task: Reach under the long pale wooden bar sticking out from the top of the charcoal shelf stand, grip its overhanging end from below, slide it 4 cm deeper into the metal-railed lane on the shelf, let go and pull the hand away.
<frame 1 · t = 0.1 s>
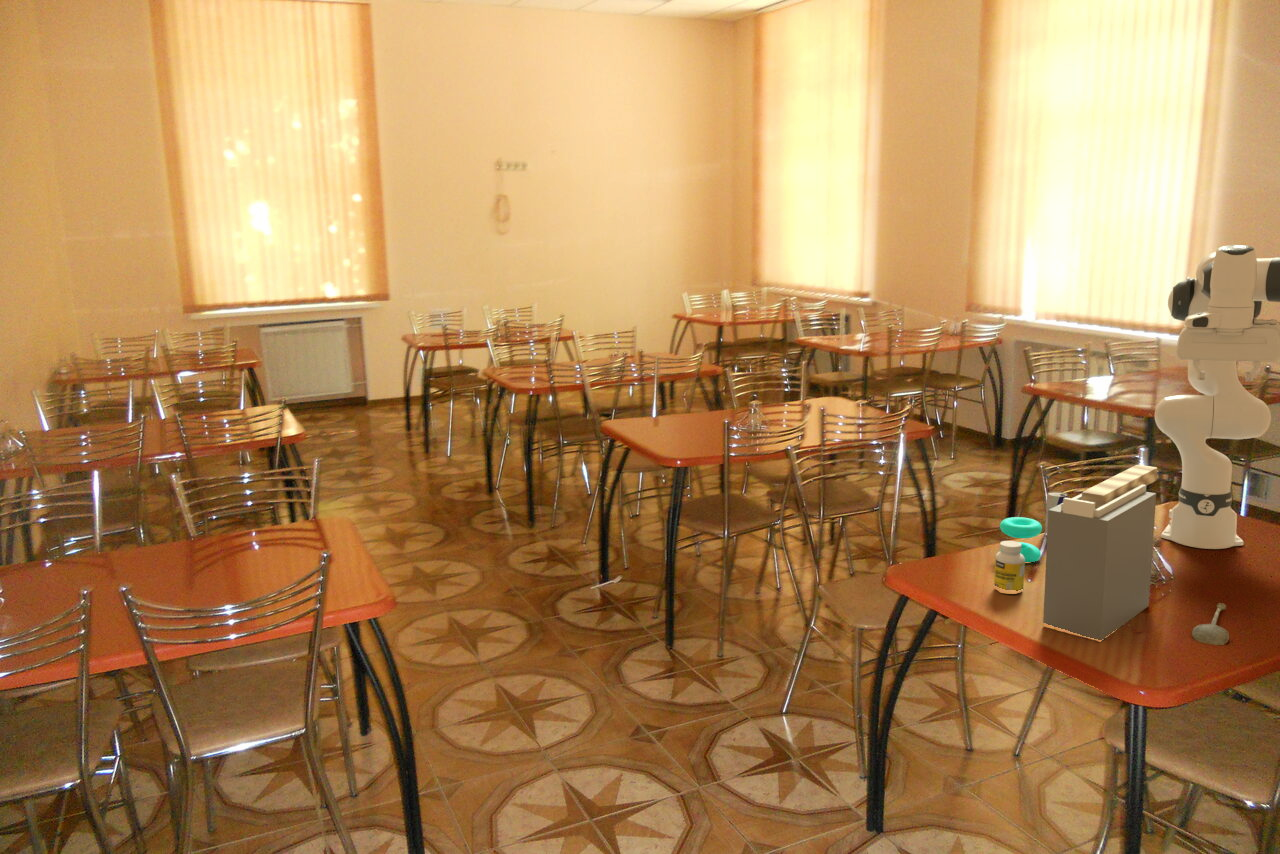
hand: (1224, 380, 220), 48 cm above the table, tool pointing down, fingers open, 8 cm apart
shelf stand: (1096, 616, 212), on the table
energy drink: (1055, 537, 265), on the table
soupspoon: (1215, 628, 205), on the table
pill bottle: (1008, 591, 228), on the table
donuts: (1019, 559, 249), on the table
wooden bar: (1120, 492, 212), point 26 cm above the table, touching shelf stand
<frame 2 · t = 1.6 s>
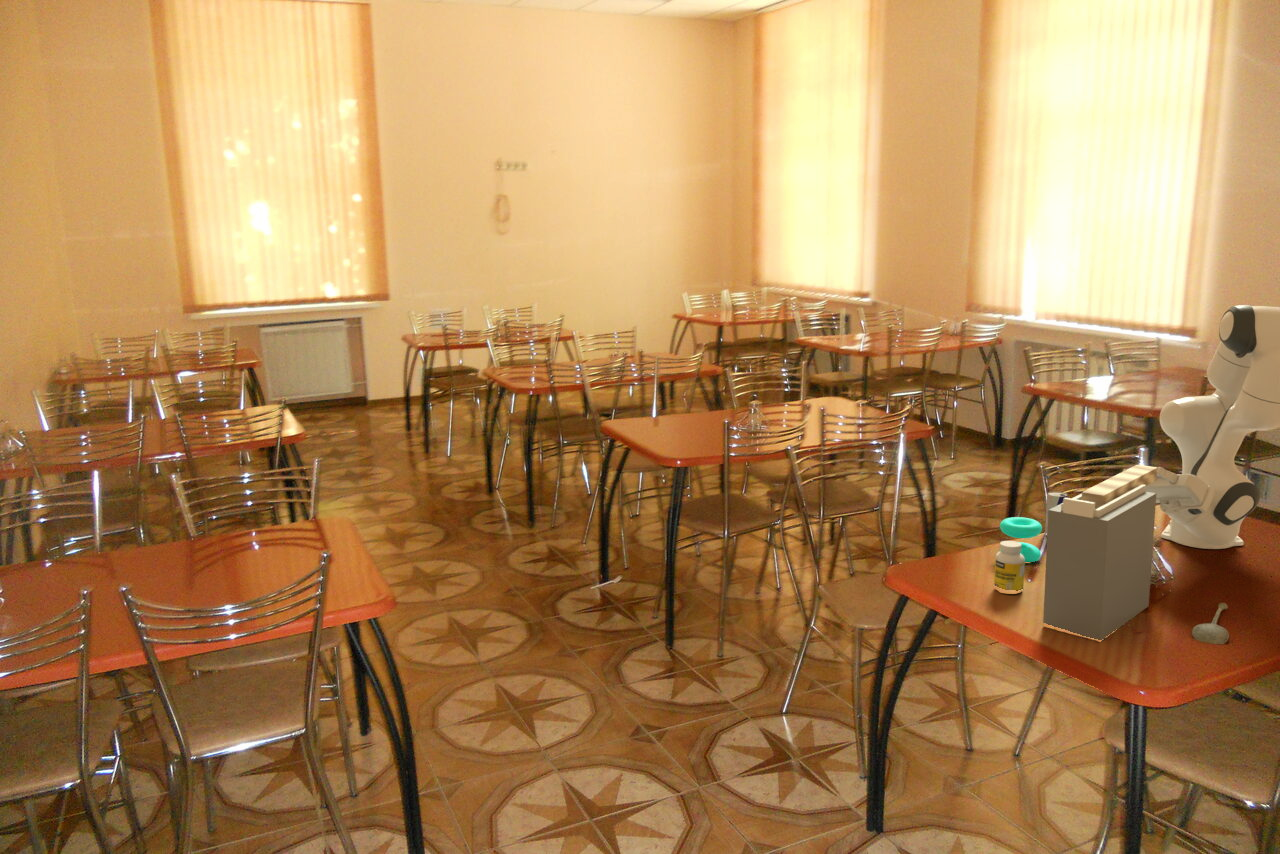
hand: (1140, 470, 231), 26 cm above the table, tool pointing upward, fingers open, 8 cm apart
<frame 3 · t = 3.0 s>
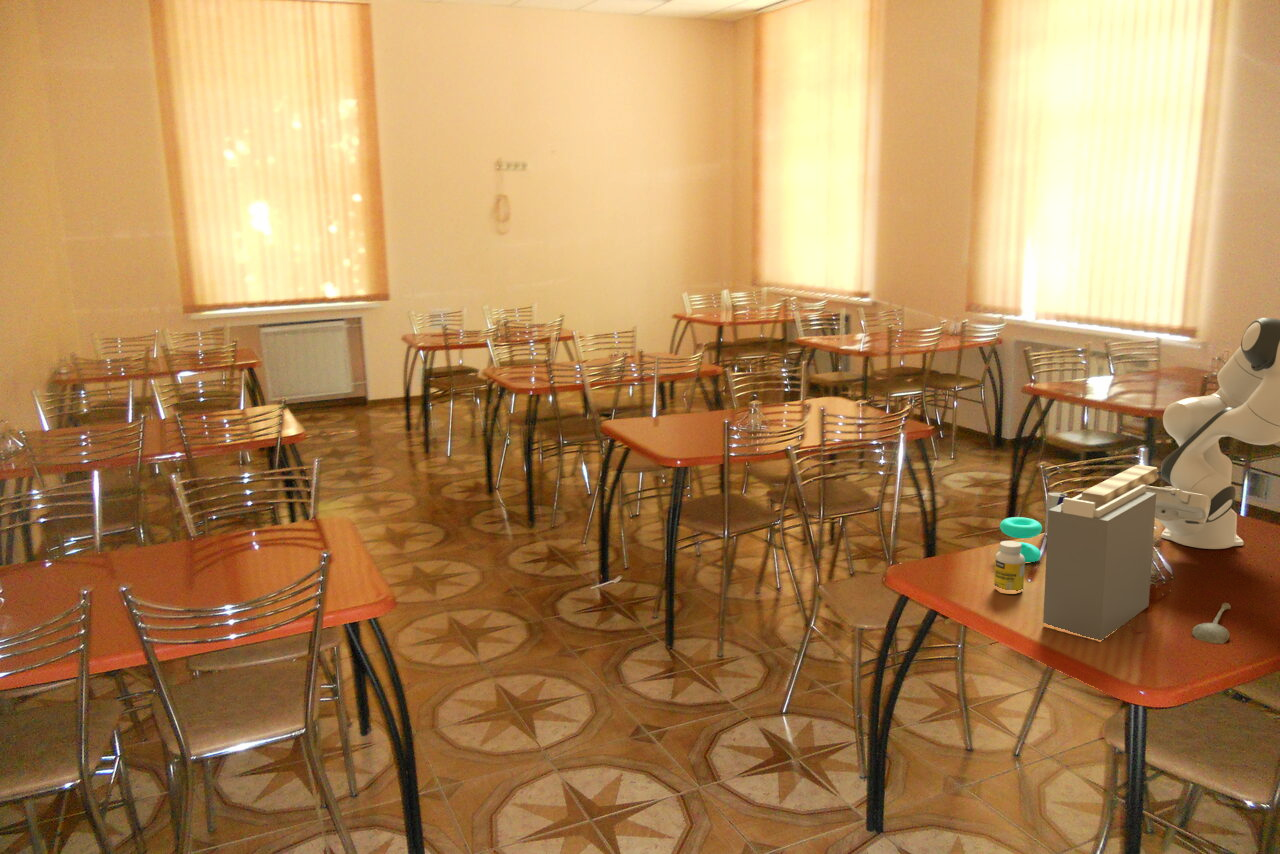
hand: (1153, 488, 227), 23 cm above the table, tool pointing upward, fingers open, 8 cm apart
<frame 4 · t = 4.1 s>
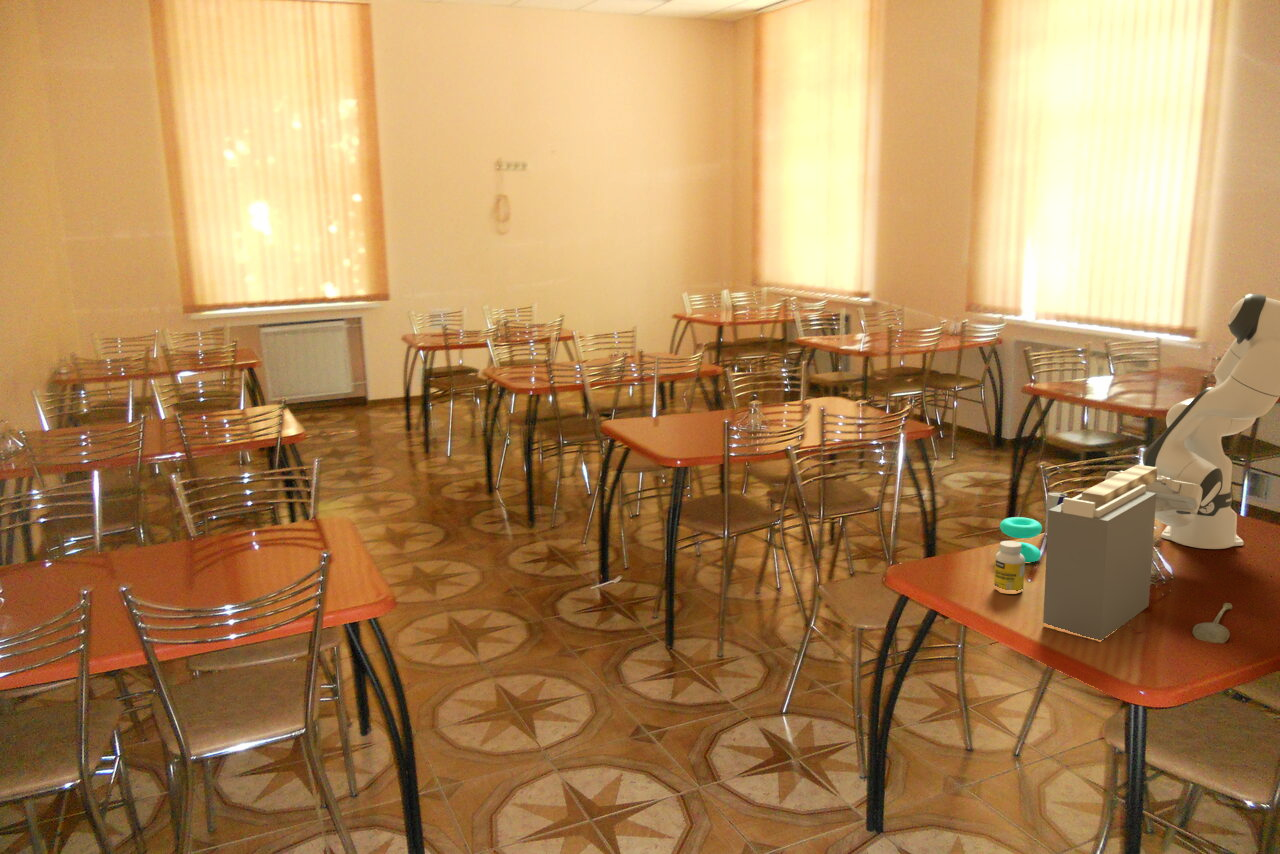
hand: (1143, 477, 221), 27 cm above the table, tool pointing upward, fingers open, 8 cm apart
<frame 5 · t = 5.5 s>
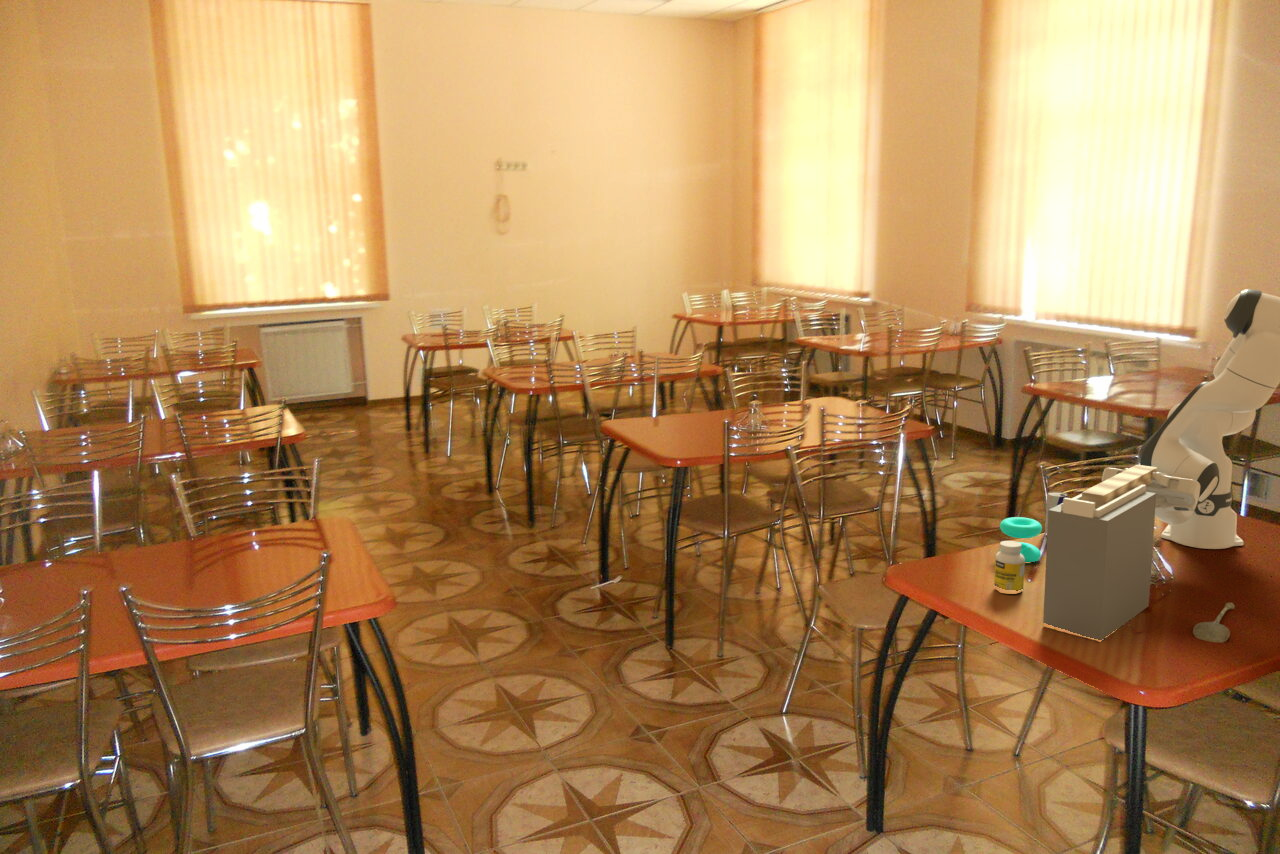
hand: (1140, 473, 220), 28 cm above the table, tool pointing upward, fingers closed on wooden bar, 4 cm apart
wooden bar: (1120, 492, 212), point 26 cm above the table, touching gripper, shelf stand
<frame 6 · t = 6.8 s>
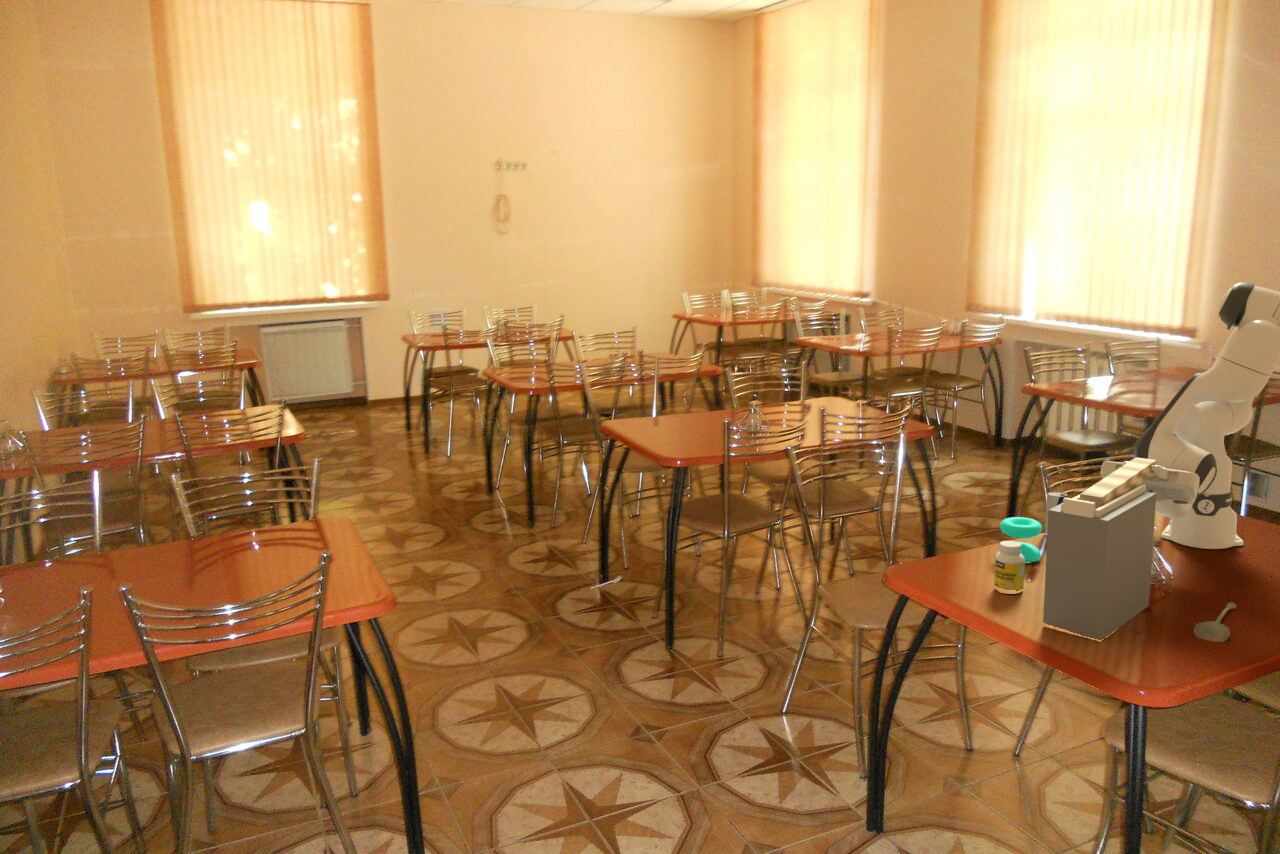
hand: (1139, 466, 218), 30 cm above the table, tool pointing upward, fingers closed on wooden bar, 4 cm apart
wooden bar: (1119, 489, 211), point 27 cm above the table, touching gripper
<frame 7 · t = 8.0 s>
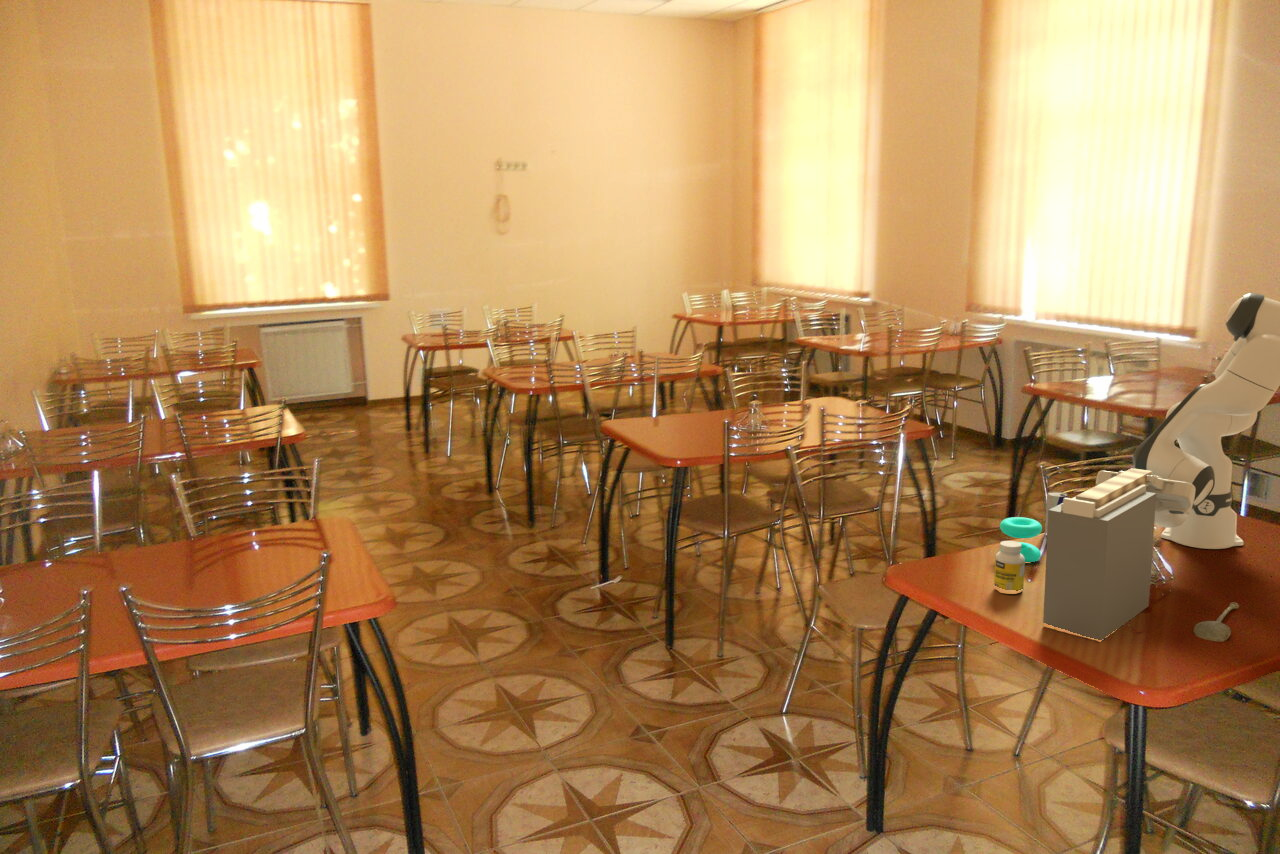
hand: (1135, 476, 217), 28 cm above the table, tool pointing upward, fingers closed on wooden bar, 4 cm apart
wooden bar: (1114, 496, 210), point 26 cm above the table, touching gripper, shelf stand
when the fingers open (28 cm above the table, at t = 8.3 s): wooden bar stays where it is, resting on shelf stand.
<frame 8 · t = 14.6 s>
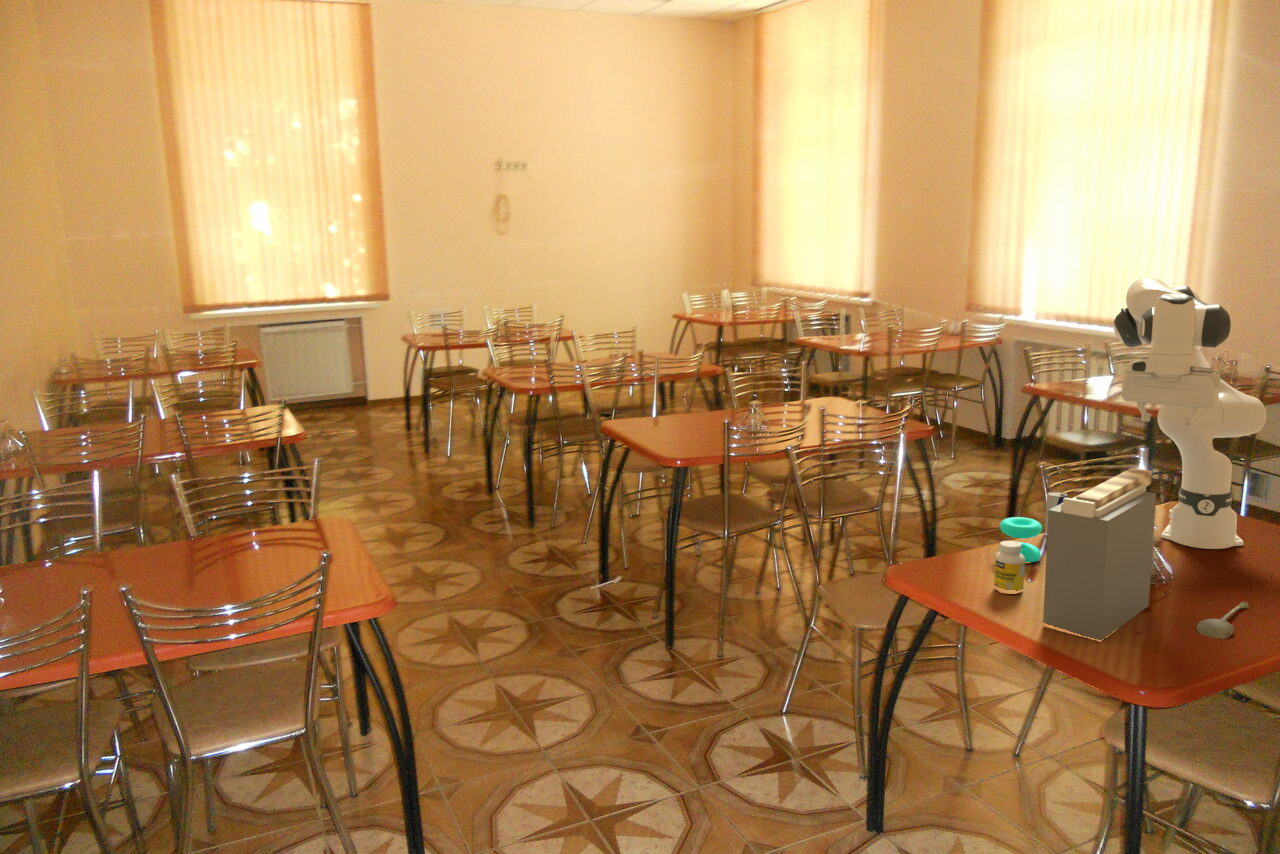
hand: (1167, 423, 228), 37 cm above the table, tool pointing down, fingers open, 8 cm apart
soupspoon: (1227, 624, 206), on the table
wooden bar: (1114, 496, 210), point 26 cm above the table, touching shelf stand
everything else where it was.
at the end: wooden bar 0.6 cm from the target spot, point 26.0 cm above the table; the gripper is holding nothing; wooden bar tilted 0° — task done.
